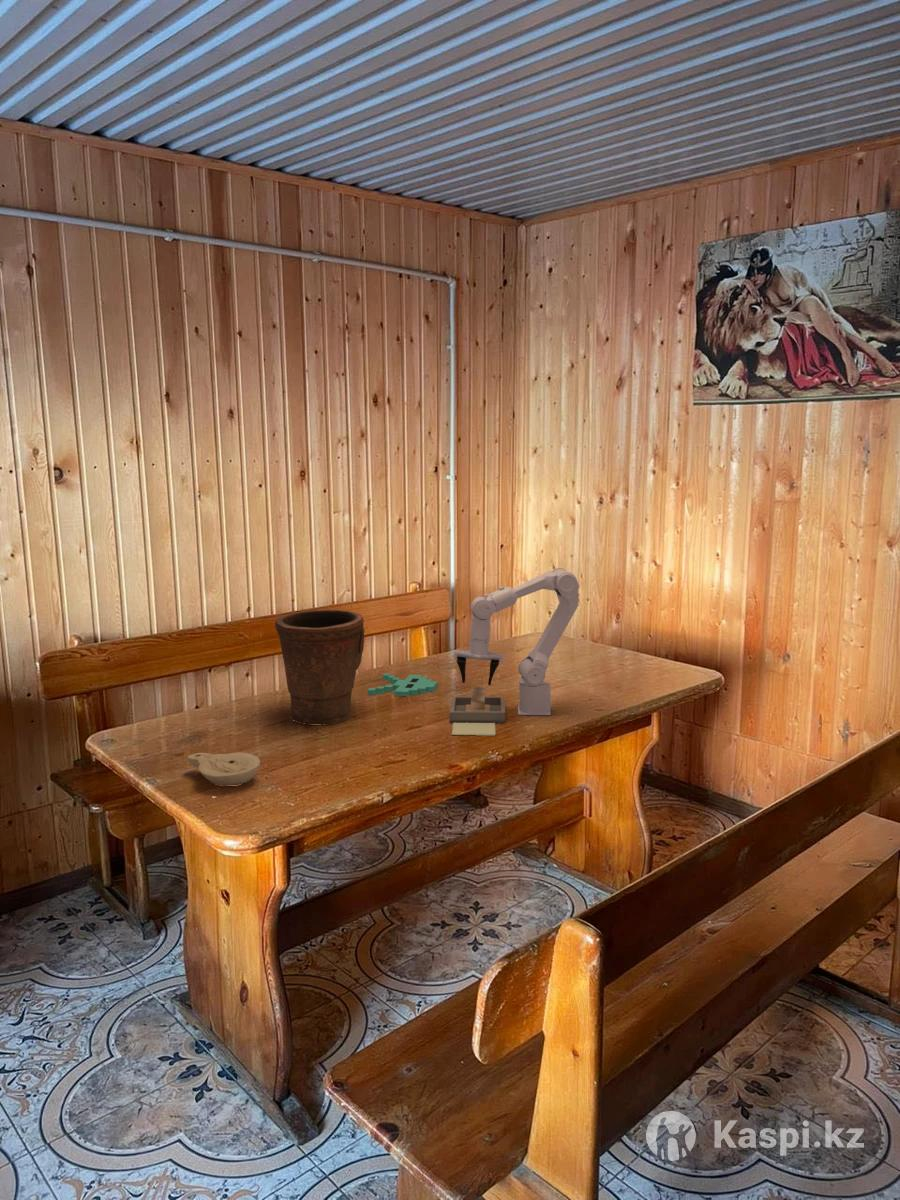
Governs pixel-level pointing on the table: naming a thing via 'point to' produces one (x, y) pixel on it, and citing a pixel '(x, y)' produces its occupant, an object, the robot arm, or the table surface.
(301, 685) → the clay pot
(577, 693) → the table surface
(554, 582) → the robot arm
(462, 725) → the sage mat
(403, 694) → the alien figure
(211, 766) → the oil lamp
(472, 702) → the brown block
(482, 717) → the box
